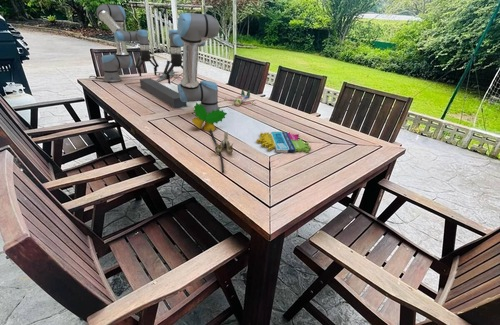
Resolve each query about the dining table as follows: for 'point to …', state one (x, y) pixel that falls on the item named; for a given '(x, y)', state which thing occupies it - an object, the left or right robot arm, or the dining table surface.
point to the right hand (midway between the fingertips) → (178, 82)
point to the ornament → (207, 117)
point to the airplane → (165, 75)
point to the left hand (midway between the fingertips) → (148, 75)
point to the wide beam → (162, 93)
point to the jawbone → (224, 145)
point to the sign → (283, 142)
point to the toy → (241, 99)
